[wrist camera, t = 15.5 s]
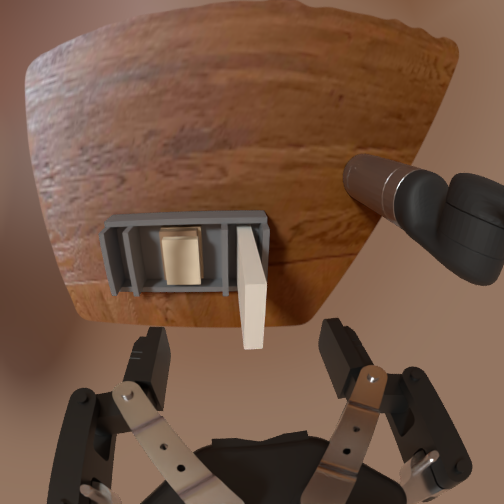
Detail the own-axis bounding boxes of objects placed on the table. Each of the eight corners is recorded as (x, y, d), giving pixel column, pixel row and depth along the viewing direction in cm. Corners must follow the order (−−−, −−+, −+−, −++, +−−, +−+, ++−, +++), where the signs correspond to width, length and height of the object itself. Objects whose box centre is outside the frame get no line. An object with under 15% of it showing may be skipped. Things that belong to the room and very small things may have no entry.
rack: (263, 210, 49) (270, 223, 42) (260, 279, 54) (265, 299, 48) (112, 215, 46) (97, 228, 39) (123, 280, 52) (113, 300, 45)
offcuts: (201, 223, 47) (199, 233, 43) (204, 274, 52) (202, 286, 48) (162, 224, 47) (156, 234, 43) (168, 274, 51) (163, 287, 47)
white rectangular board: (250, 224, 48) (267, 283, 30) (248, 274, 53) (262, 348, 34) (236, 224, 48) (245, 284, 30) (236, 274, 52) (244, 349, 34)
